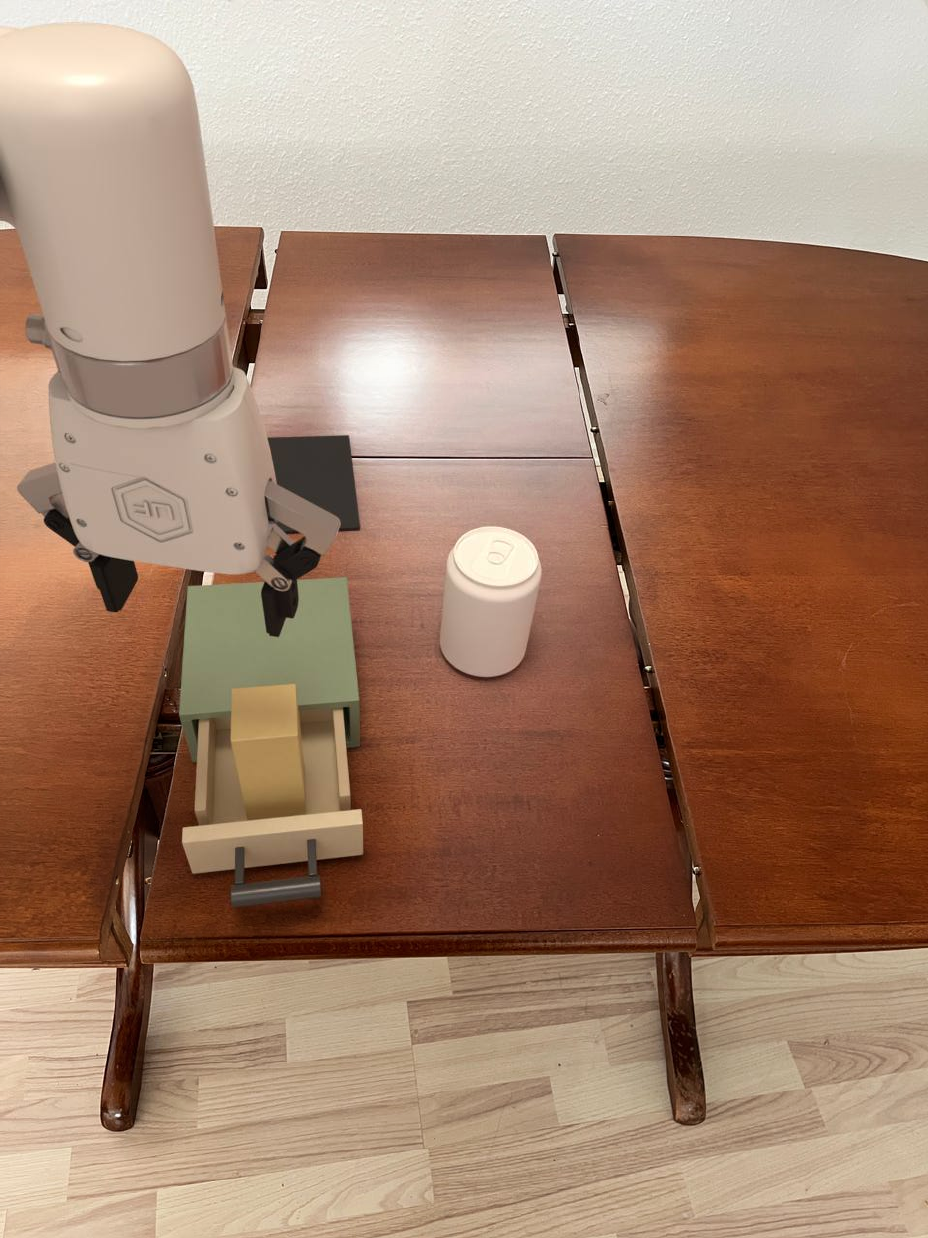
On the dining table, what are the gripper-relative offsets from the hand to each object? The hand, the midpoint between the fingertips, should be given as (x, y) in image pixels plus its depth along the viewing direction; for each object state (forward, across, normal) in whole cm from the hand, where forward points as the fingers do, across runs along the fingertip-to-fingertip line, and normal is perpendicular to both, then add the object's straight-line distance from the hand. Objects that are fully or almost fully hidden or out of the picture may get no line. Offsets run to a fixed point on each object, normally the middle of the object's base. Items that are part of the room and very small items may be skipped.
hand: (201, 607), depth 52 cm
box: (+20, +3, 0) cm, 20 cm away
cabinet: (+22, 0, +10) cm, 24 cm away
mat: (+22, -9, +37) cm, 44 cm away
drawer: (+21, +4, -2) cm, 21 cm away
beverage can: (+22, +17, +19) cm, 34 cm away
